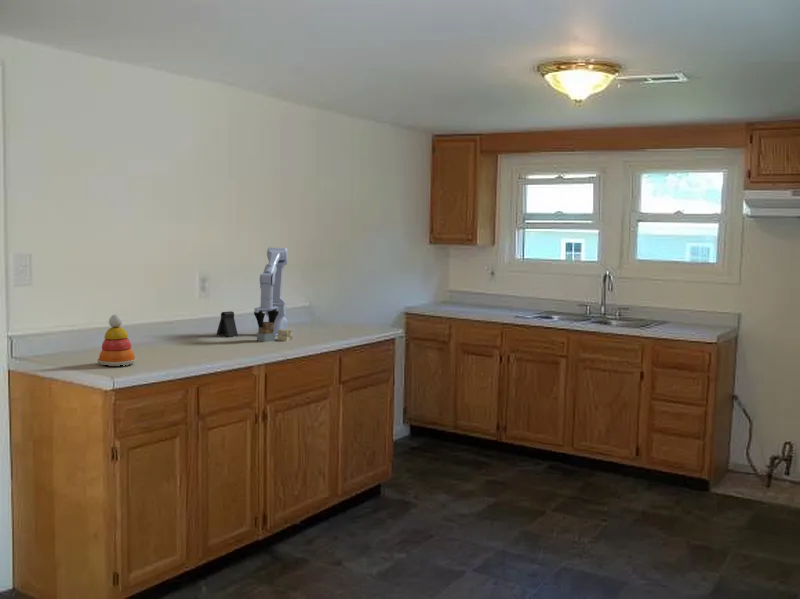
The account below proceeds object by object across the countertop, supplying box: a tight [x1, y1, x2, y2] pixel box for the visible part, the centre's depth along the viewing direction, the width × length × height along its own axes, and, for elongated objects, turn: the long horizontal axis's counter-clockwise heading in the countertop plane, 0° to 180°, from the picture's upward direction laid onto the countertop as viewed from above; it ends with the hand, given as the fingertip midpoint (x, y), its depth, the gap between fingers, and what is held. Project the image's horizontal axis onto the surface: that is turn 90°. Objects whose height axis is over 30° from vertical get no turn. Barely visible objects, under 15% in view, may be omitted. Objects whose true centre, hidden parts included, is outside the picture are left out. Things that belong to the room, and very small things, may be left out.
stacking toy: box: [97, 314, 137, 367], centre depth 309 cm, size 14×14×20 cm
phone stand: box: [215, 310, 239, 338], centre depth 395 cm, size 9×6×12 cm, turn 55°
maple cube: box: [277, 328, 293, 342], centre depth 390 cm, size 5×5×5 cm
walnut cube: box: [257, 321, 274, 334], centre depth 385 cm, size 5×5×5 cm
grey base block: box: [256, 332, 276, 343], centre depth 385 cm, size 6×6×4 cm
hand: (266, 326), depth 385 cm, fingers open, 7 cm apart
